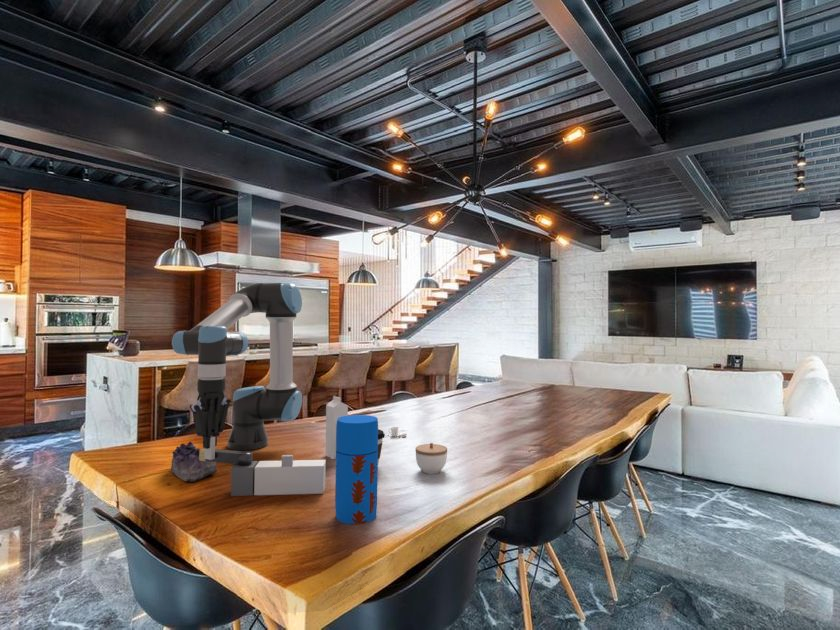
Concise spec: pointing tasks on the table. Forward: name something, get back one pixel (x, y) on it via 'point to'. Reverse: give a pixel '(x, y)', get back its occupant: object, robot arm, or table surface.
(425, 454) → the lidded jar
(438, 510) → the table surface
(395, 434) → the teacup and saucer
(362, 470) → the thermos
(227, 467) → the table surface
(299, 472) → the white box with knob
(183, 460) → the geode
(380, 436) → the coffee cup
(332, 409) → the milk
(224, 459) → the bar
